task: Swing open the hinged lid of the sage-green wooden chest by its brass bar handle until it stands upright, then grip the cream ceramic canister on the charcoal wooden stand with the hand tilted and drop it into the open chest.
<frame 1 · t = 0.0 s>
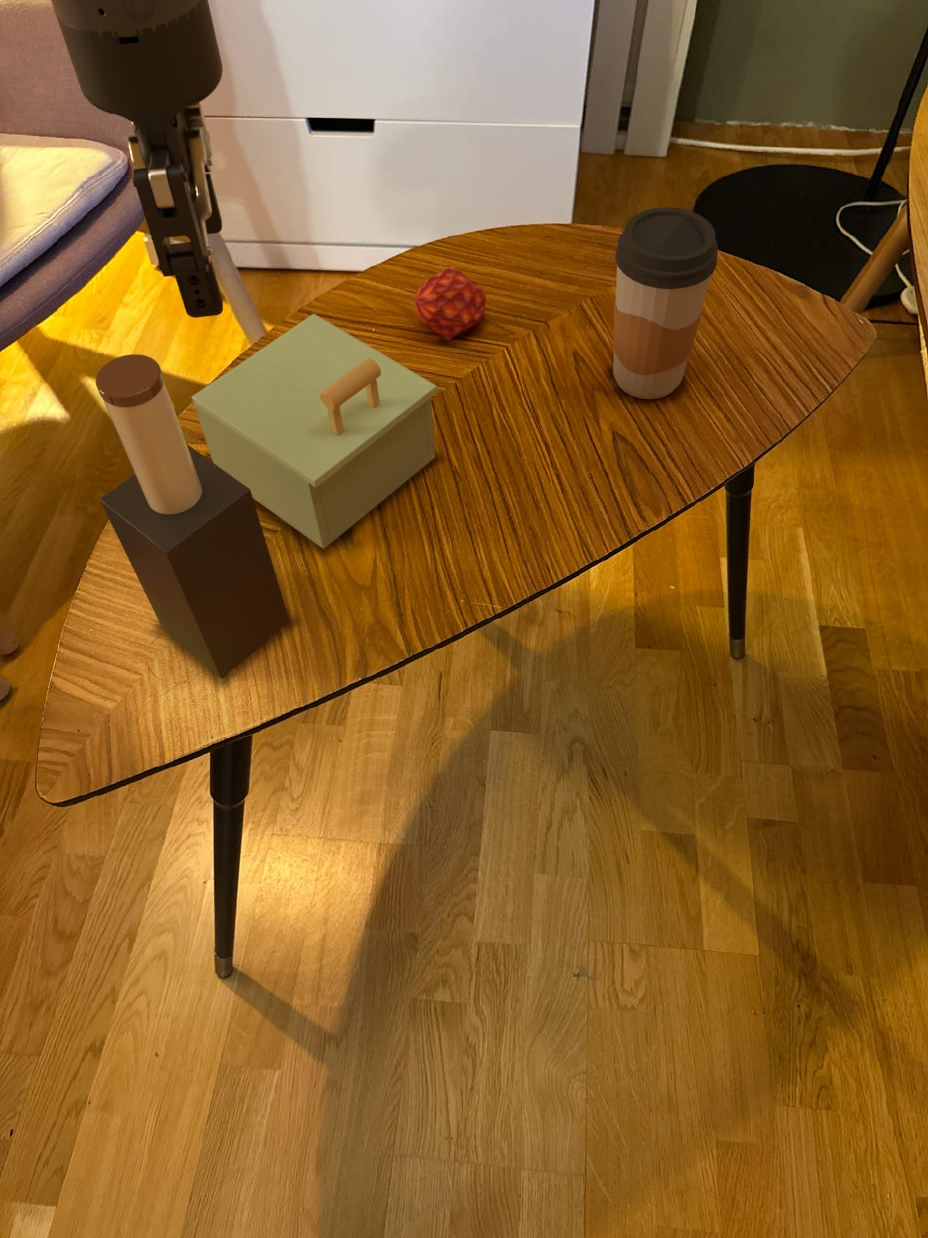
hand: (206, 270, 62), 25 cm above the table, tool pointing down, fingers open, 8 cm apart
coffee cup: (646, 379, 92), on the table
chest lid: (310, 374, 78), point 10 cm above the table, hinge at 0.0°
stand: (226, 625, 77), on the table
chest: (325, 464, 86), on the table
red faceted ball: (451, 327, 97), on the table
canister: (174, 494, 65), point 15 cm above the table, touching stand
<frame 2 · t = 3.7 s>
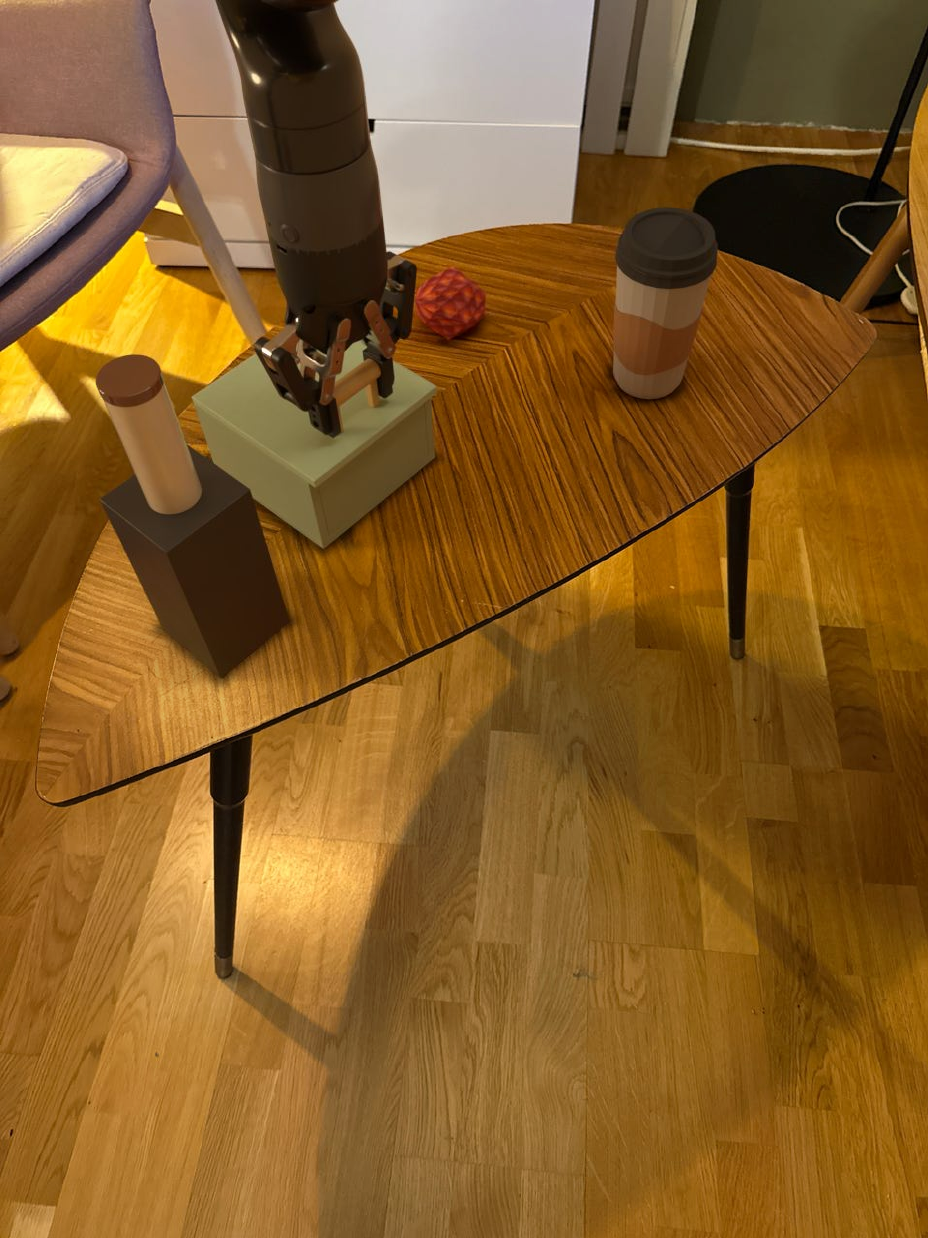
hand: (354, 410, 77), 9 cm above the table, tool pointing down, fingers closed on chest lid, 5 cm apart
chest lid: (310, 374, 78), point 10 cm above the table, hinge at -0.1°, touching gripper
everything else where it was.
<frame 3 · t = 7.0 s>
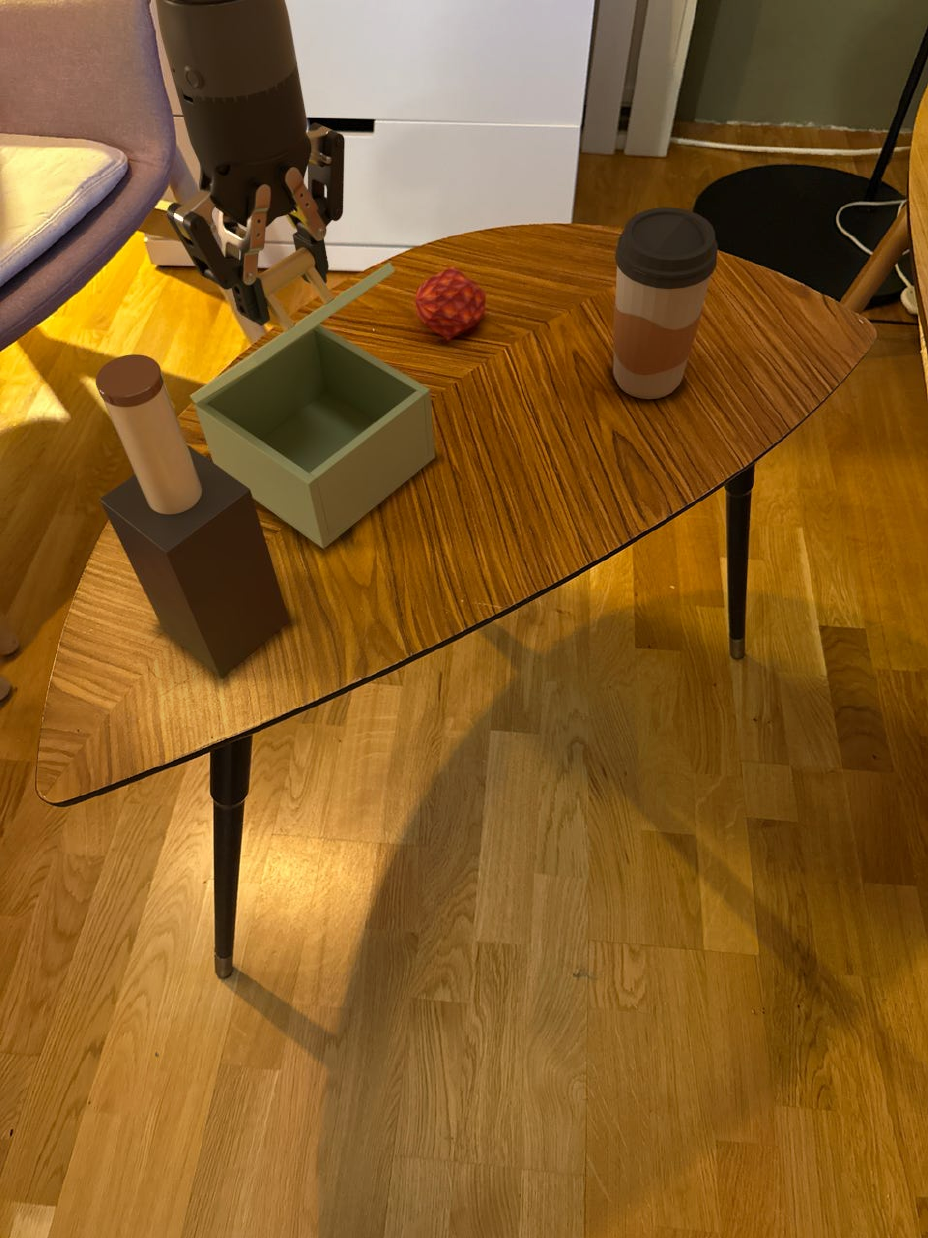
hand: (286, 299, 73), 17 cm above the table, tool pointing down, fingers closed on chest lid, 5 cm apart
chest lid: (272, 312, 76), point 15 cm above the table, hinge at 42.5°, touching gripper
everything else where it was.
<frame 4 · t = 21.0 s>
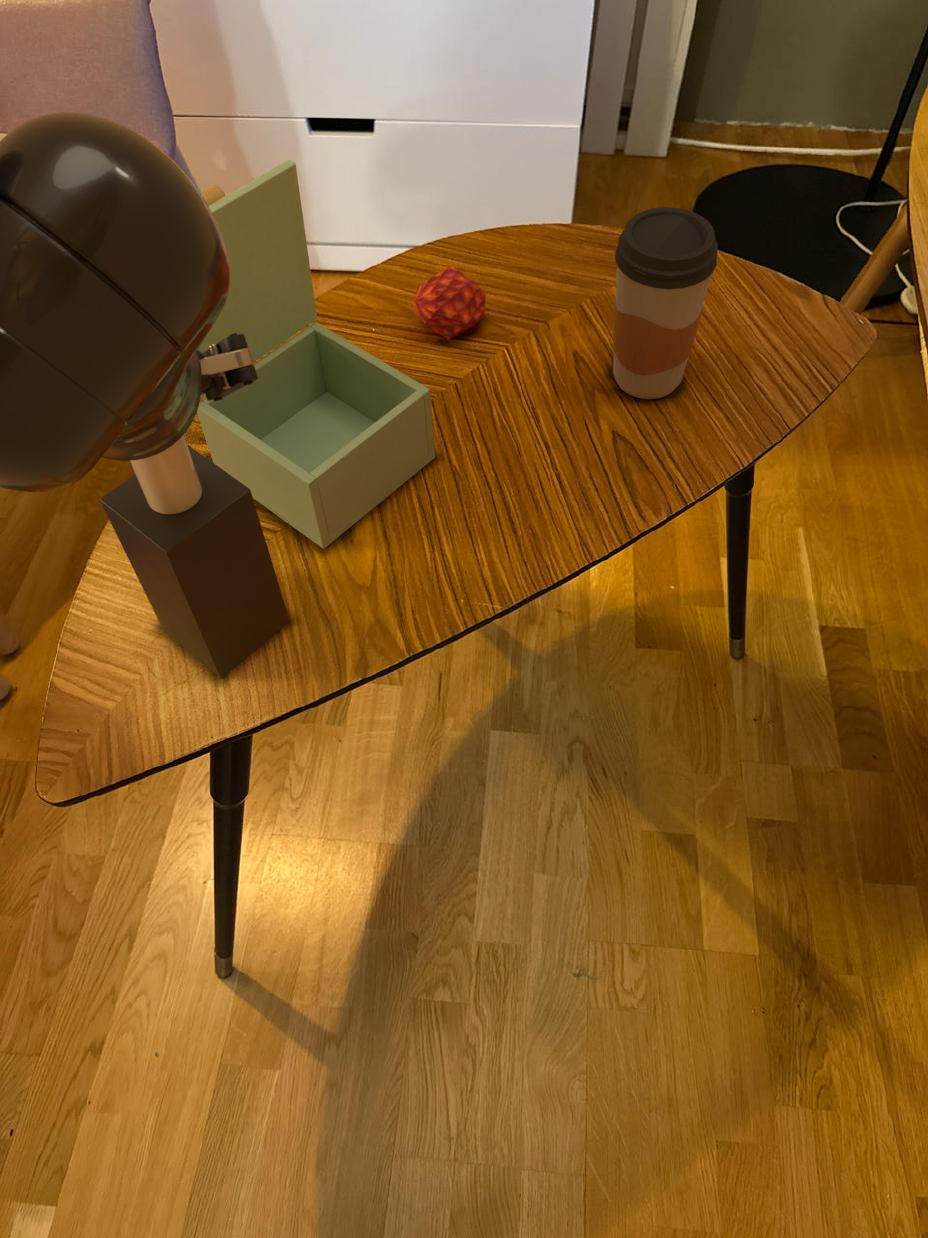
hand: (141, 405, 61), 21 cm above the table, tool tilted 45°, fingers closed on canister, 3 cm apart
chest lid: (222, 273, 77), point 16 cm above the table, hinge at 86.8°
canister: (174, 493, 65), point 15 cm above the table, touching gripper, stand
everything else where it was.
when the fingers open (12 cm above the table, at t = 31.6 s): canister drops 5 cm, resting on chest.
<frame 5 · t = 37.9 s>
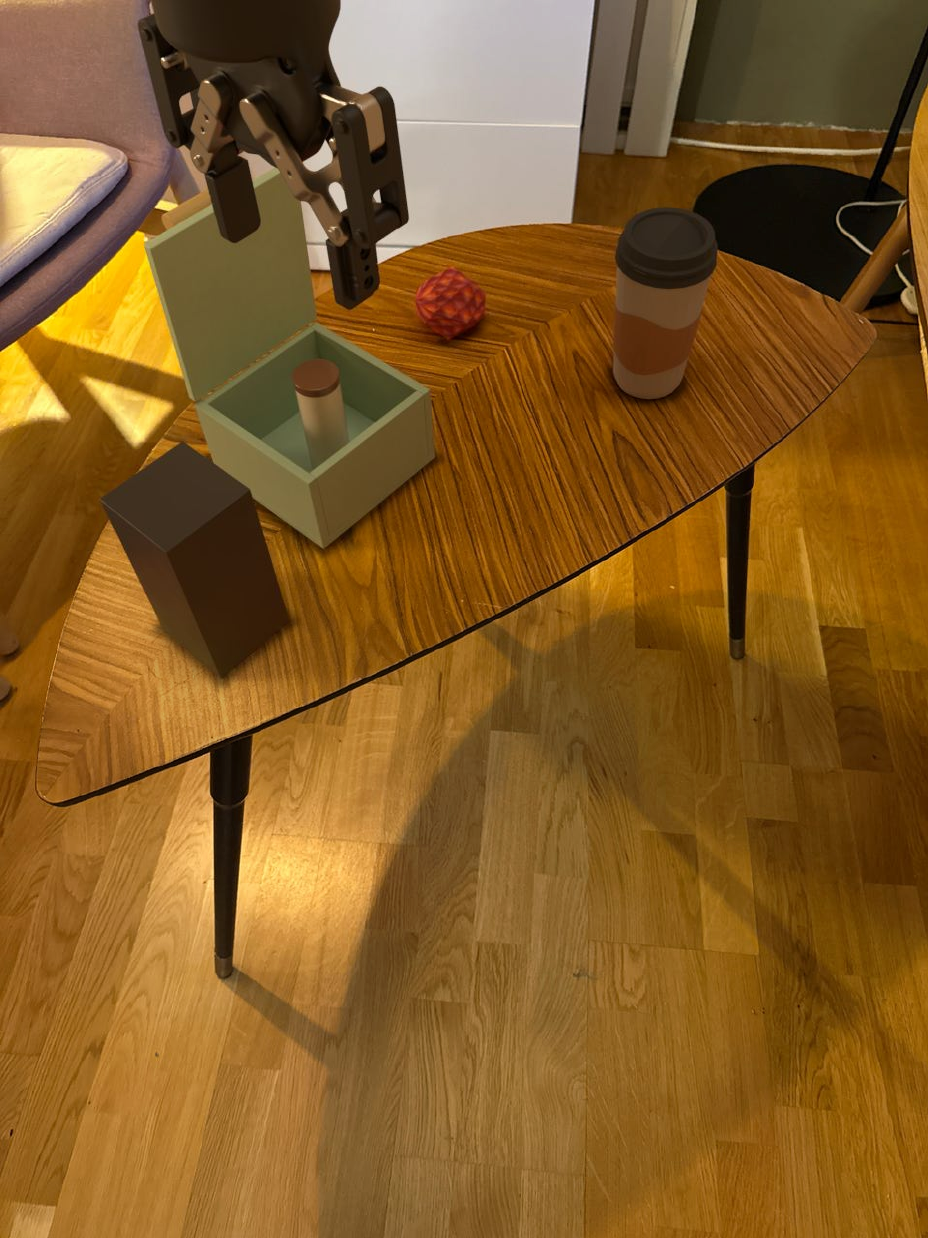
hand: (298, 265, 50), 32 cm above the table, tool pointing down, fingers open, 8 cm apart
canister: (332, 464, 85), point 1 cm above the table, touching chest
everything else where it was.
at the end: chest lid at +87° (first picture: +0°); canister inside the target area in the chest (1.1 cm from its centre), point 0.8 cm above the chest's base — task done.
